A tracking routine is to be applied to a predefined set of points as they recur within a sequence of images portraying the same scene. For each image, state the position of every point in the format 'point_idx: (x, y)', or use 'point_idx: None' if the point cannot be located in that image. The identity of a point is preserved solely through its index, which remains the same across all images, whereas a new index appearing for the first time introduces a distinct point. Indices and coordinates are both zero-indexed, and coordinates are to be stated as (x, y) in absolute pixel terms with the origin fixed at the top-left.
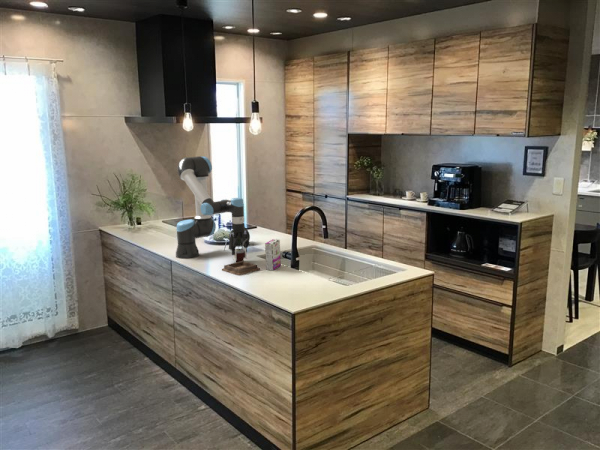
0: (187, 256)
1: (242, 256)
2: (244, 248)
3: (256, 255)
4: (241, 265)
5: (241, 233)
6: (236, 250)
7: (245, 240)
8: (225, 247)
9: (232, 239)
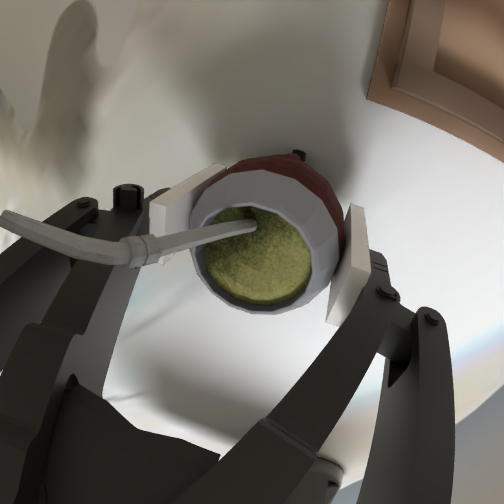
0: (333, 470)
1: (295, 159)
2: (169, 218)
3: (77, 198)
4: (444, 73)
5: (14, 497)
6: (312, 275)
7: (72, 240)
8: (114, 398)
9: (431, 488)
